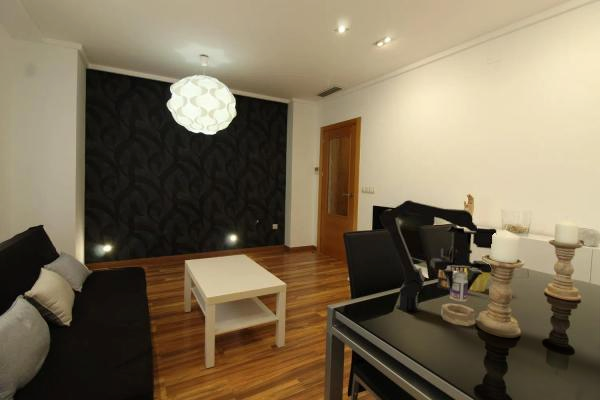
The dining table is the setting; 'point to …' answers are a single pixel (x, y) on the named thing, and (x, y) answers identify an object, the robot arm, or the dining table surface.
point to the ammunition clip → (442, 279)
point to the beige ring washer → (458, 314)
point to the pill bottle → (459, 286)
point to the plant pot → (479, 281)
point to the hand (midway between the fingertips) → (458, 289)
